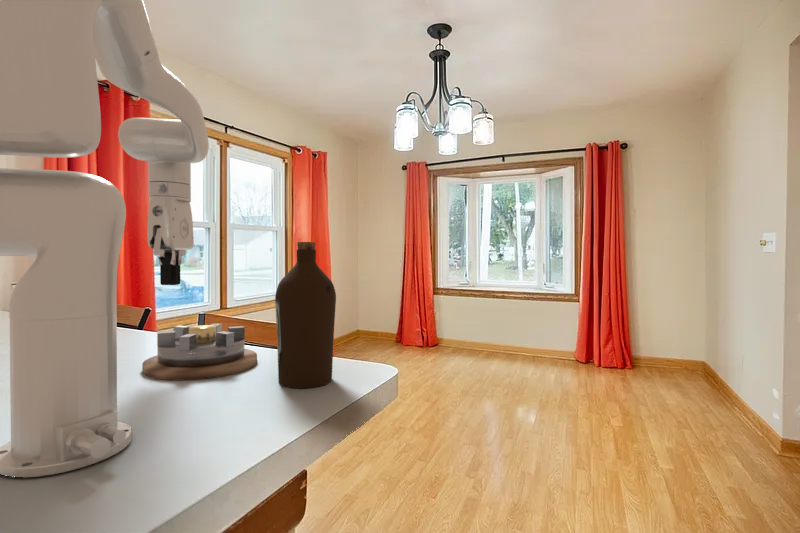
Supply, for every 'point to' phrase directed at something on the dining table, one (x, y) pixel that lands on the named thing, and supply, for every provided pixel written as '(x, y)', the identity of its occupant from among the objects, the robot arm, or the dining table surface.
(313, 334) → the olive oil
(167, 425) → the dining table surface
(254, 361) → the board
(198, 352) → the crenellated turret ring
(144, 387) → the dining table surface
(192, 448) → the dining table surface
